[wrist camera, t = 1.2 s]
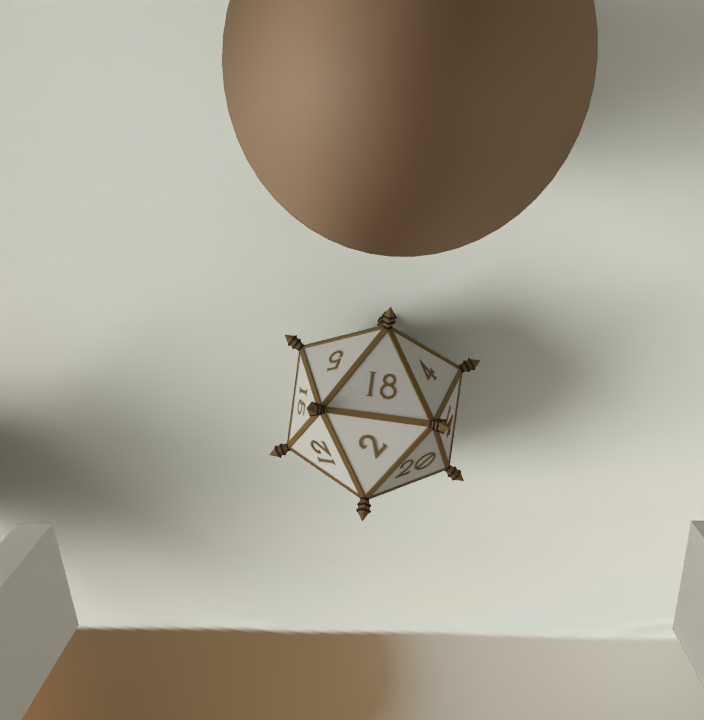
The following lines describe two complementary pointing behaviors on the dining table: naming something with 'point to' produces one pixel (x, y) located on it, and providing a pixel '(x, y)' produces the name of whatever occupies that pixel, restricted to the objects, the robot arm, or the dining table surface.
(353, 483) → the game die
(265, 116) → the bobbin
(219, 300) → the dining table surface
